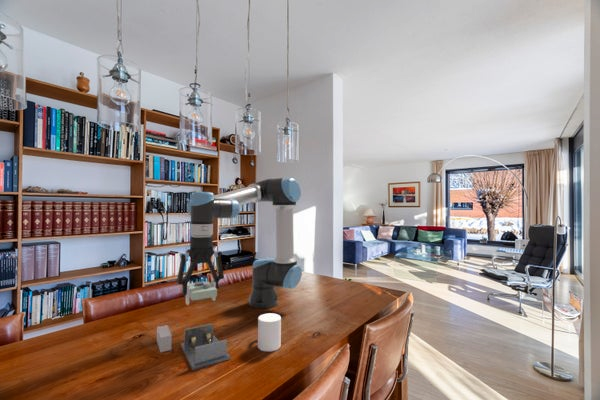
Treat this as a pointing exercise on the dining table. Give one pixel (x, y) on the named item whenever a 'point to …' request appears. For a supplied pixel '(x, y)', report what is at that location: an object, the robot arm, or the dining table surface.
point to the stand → (164, 338)
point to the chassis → (203, 347)
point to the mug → (269, 332)
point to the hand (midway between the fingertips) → (200, 301)
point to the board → (202, 290)
